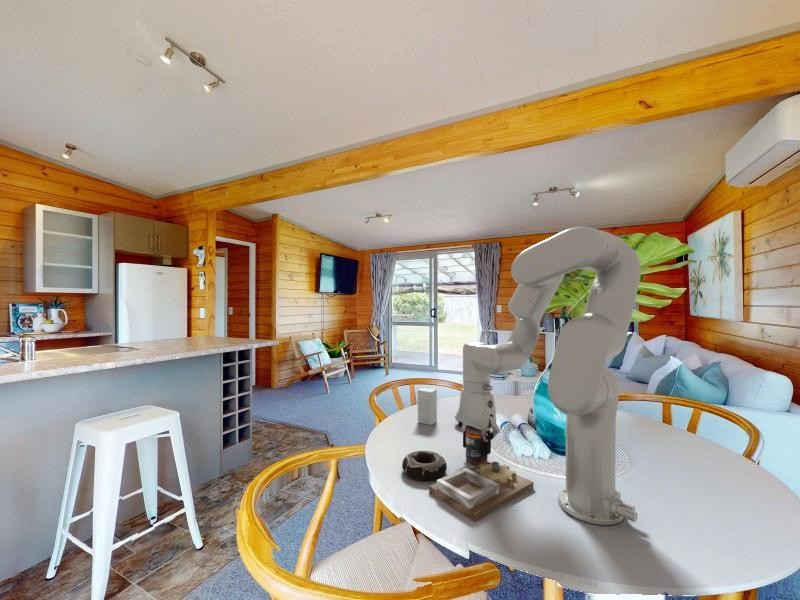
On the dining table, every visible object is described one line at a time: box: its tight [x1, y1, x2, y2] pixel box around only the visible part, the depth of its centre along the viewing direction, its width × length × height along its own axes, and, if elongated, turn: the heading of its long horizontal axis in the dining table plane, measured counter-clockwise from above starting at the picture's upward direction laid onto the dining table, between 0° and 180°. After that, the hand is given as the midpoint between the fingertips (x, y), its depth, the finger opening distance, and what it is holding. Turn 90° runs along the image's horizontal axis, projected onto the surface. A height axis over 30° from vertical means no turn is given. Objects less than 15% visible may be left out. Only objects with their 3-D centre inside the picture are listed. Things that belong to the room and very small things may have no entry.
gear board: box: [428, 460, 534, 523], centre depth 85 cm, size 14×21×5 cm, turn 127°
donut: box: [401, 450, 447, 482], centre depth 94 cm, size 12×12×4 cm
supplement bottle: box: [465, 426, 489, 466], centre depth 100 cm, size 6×6×11 cm
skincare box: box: [417, 387, 438, 426], centre depth 132 cm, size 6×4×12 cm
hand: (476, 449), depth 100 cm, fingers closed on supplement bottle, 6 cm apart
